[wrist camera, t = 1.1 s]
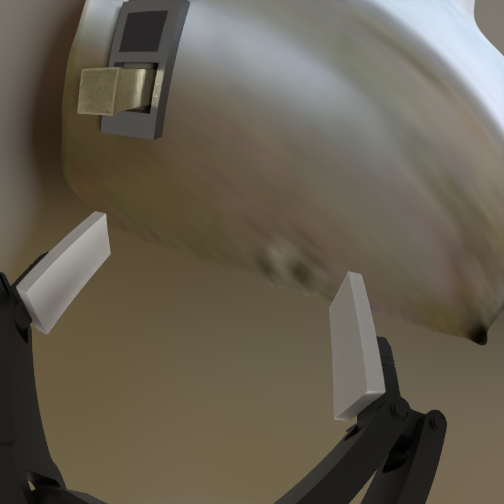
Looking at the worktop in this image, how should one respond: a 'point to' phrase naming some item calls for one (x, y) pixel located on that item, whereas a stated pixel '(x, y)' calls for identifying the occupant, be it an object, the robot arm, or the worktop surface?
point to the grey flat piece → (146, 60)
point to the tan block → (115, 90)
